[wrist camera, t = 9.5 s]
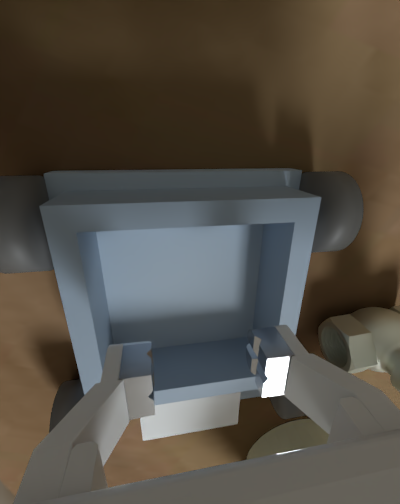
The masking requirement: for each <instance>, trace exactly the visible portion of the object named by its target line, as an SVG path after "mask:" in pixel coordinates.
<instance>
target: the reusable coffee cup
mask: <svg viewBox="0 0 400 504" xmlns="http://www.w3.org/2000/svg"><path fill="white" fill-rule="evenodd" d="M328 437H329V434H328V433H327V432H326V431H324V430H323V429H322V428H321V427H320V426H319V425H317V424H316V423H315V422H314V421H313V420H312V419H299V420H295V421H290V422H288V423H285V424H282V425H280V426H278V427H276V428H273V429H272V430H270V431H269V432H267V433H266V434H264V435H263V436H262V437H261V438H259V439H258V440H257V441H256V442H255V444H254V445H253V446H252V447H251V449H250V451H249V452H248V455H247V458H246V460H248V459H253V458H258V457H263V456H268V455H273V454H278V453H283V452H288V451H292V450H297V449H302V448H307V447H312V446H317V445H322V444H327V441H328Z"/></svg>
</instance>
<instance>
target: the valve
mask: <svg viewBox="0 0 400 504" xmlns="http://www.w3.org/2000/svg"><path fill="white" fill-rule="evenodd" d="M318 339H319V345H320V348H321V351H322V353H323V355H324V357H325V359H326V361H328V362H330V363H331V364H333V365H335V366H337V367H339V368H341V369H342V370H344V371H346V372H348V373H350V374H352V373H357V372H362V371H364V370H366V369H369V370H372V371H377V372H388V373H389V374H390V375H391V377H390V380H391V383H392V385H393V386H394V387H395V388H396V389H397V390H398V391H399V392H400V305H399V306H393V307H391V308H390V309H385V308H381V307H367V308H363V309H359V310H357V311H355V312H353V313H351V314H347V315H341V316H335V317H329V318H328V319H326V320H325V321H324V322H323V323H321V324H320V326H319V327H318Z"/></svg>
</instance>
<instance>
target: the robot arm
mask: <svg viewBox="0 0 400 504" xmlns="http://www.w3.org/2000/svg"><path fill="white" fill-rule="evenodd" d="M247 338H248V341H249V344H248V345H247V346H246V359H247V364H248V367H249V369H250V372H252V373H253V374H254V375H256V377H255V383H256V385H257V387H258V390H259V392H260V394H261V396H262V397H270V396H277V395H284V396H285V397H286V398H287V399H288V400H290V401H291V402H292V403H293V404H294V405H295V406H297V407H298V408H299V409H300V410H301V411H302V412H304V413H305V414H306V415H307V416H308V417H309V418H311V419H312V420H313V421H314V422H315V423H316V424H317V425H319V426H320V427H321V428H322V429H323V430H324V431H326V432H327V433H328V434H329V437H328V441H327V444H322V445H317V446H312V447H307V448H302V449H297V450H292V451H288V452H283V453H278V454H273V455H268V456H263V457H258V458H253V459H248V460H243V461H238V462H233V463H228V464H223V465H218V466H214V467H209V468H204V469H199V470H194V471H189V472H184V473H179V474H174V475H169V476H164V477H159V478H154V479H149V480H144V481H139V482H134V483H129V484H125V485H120V486H115V487H110V488H108V486H107V481H106V477H105V473H104V468H103V466H104V464H105V463H106V461H107V459H108V457H109V456H110V454H111V452H112V451H113V449H114V447H115V445H116V444H117V442H118V440H119V439H120V437H121V435H122V433H123V432H124V430H125V428H126V427H127V425H128V423H129V420H131V419H137V418H142V417H147V416H152V415H155V393H154V386H155V381H154V361H153V350H152V341H143V342H132V343H124V344H114V345H109V347H108V348H107V353H106V358H105V363H104V367H103V372H102V377H101V382H100V383H96V384H95V385H94V386H93V387H92V388H91V389H90V390H89V391H88V392H87V393H86V394H85V395H84V397H83V398H82V399H81V400H80V401H79V402H78V403H77V404H76V405H75V406H74V407H73V408H72V409H71V410H70V411H69V413H68V414H67V415H66V416H65V417H64V418H63V419H62V420H61V421H60V422H59V423H58V424H57V425H56V426H55V428H54V429H53V430H52V431H51V432H50V433H49V434H48V435H47V436H46V437H45V438H44V439H43V440H42V441H41V442H40V444H39V445H38V446H37V447H36V448H35V449H34V450H33V453H32V456H31V458H30V461H29V463H28V466H27V469H26V471H25V474H24V476H23V479H22V482H21V484H20V487H19V489H18V492H17V495H16V497H15V500H14V503H13V504H400V410H399V409H398V408H397V407H396V406H395V405H394V404H393V402H392V401H391V400H390V399H389V398H388V397H387V396H386V395H385V394H384V393H383V392H382V391H381V390H379V389H378V388H376V387H374V386H372V385H370V384H368V383H367V382H365V381H363V380H361V379H359V378H357V377H355V376H354V375H352V374H350V373H348V372H346V371H344V370H342V369H341V368H339V367H337V366H335V365H333V364H331V363H330V362H328V361H326V360H324V359H322V358H320V357H318V356H317V355H315V354H309V353H308V352H307V350H306V349H305V348H304V347H303V345H302V344H301V343H300V341H299V340H298V339H297V337H296V336H295V335H294V333H293V332H292V331H291V329H290V328H289V327H288V326H287V325H277V326H273V327H264V328H256V329H249V330H248V334H247Z"/></svg>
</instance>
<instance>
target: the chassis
mask: <svg viewBox="0 0 400 504" xmlns="http://www.w3.org/2000/svg"><path fill="white" fill-rule="evenodd" d="M362 219H363V198H362V194H361V191H360V188H359V186H358V184H357V183H356V181H355V180H354V179H353V178H352V177H351V176H350V175H349V174H347V173H345V172H339V171H332V172H305V173H302V170H297V169H292V168H263V169H171V170H79V171H51V172H47V173H44V177H42V176H39V175H35V176H0V272H1V273H21V272H36V271H50V270H53V269H54V270H55V274H56V278H57V283H58V287H59V291H60V295H61V299H62V304H63V308H64V312H65V316H66V320H67V324H68V329H69V333H70V337H71V341H72V345H73V350H74V354H75V358H76V362H77V366H78V370H79V375H80V379H77V380H70V381H65V382H63V383H62V384H61V386H60V387H59V389H58V391H57V394H56V396H55V400H54V403H53V407H52V412H51V419H50V430H49V433H50V432H51V431H52V430H53V429H54V428H55V426H56V425H57V424H58V423H59V422H60V421H61V420H62V419H63V418H64V417H65V416H66V415H67V414H68V413H69V411H70V410H71V409H72V408H73V407H74V406H75V405H76V404H77V403H78V402H79V401H80V400H81V399H82V398H83V397H84V395H85V394H86V393H87V392H88V391H89V390H90V389H91V388H92V387H93V386H94V385H95V384H96V383H100V382H101V377H102V372H103V367H104V363H105V358H106V353H107V348H108V347H109V345H114V344H124V343H132V342H143V341H152V350H153V361H154V381H155V386H154V393H155V415H152V416H147V417H142V418H140V421H141V429H142V437H143V441H145V440H151V439H156V438H162V437H168V436H173V435H179V434H185V433H190V432H196V431H202V430H207V429H213V428H218V427H224V426H230V425H235V424H238V415H239V405H240V399H247V398H253V397H259V396H261V394H260V392H259V390H258V387H257V385H256V383H255V377H256V375H254V374H253V373H252V372H250V369H249V367H248V364H247V359H246V346H247V345H248V344H249V341H248V338H247V334H248V330H249V329H256V328H264V327H273V326H277V325H287V326H288V327H289V328H290V329H291V331H292V332H293V333H294V335H295V336H296V331H297V325H298V320H299V315H300V309H301V304H302V299H303V293H304V288H305V283H306V277H307V272H308V267H309V261H310V256H311V253H312V252H326V251H339V250H342V249H344V248H346V247H347V246H349V245H350V244H351V243H352V241H353V240H354V239H355V237H356V236H357V234H358V232H359V229H360V227H361V223H362ZM269 398H270V400H271V403H272V405H273V407H274V409H275V411H276V412H277V414H278V415H279V416H280V417H281V418H282V419H289V418H295V417H300V416H306V414H305V413H304V412H302V411H301V410H300V409H299V408H298V407H297V406H295V405H294V404H293V403H292V402H291V401H290V400H288V399H287V398H286V397H285V396H284V395H277V396H270V397H269Z"/></svg>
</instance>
